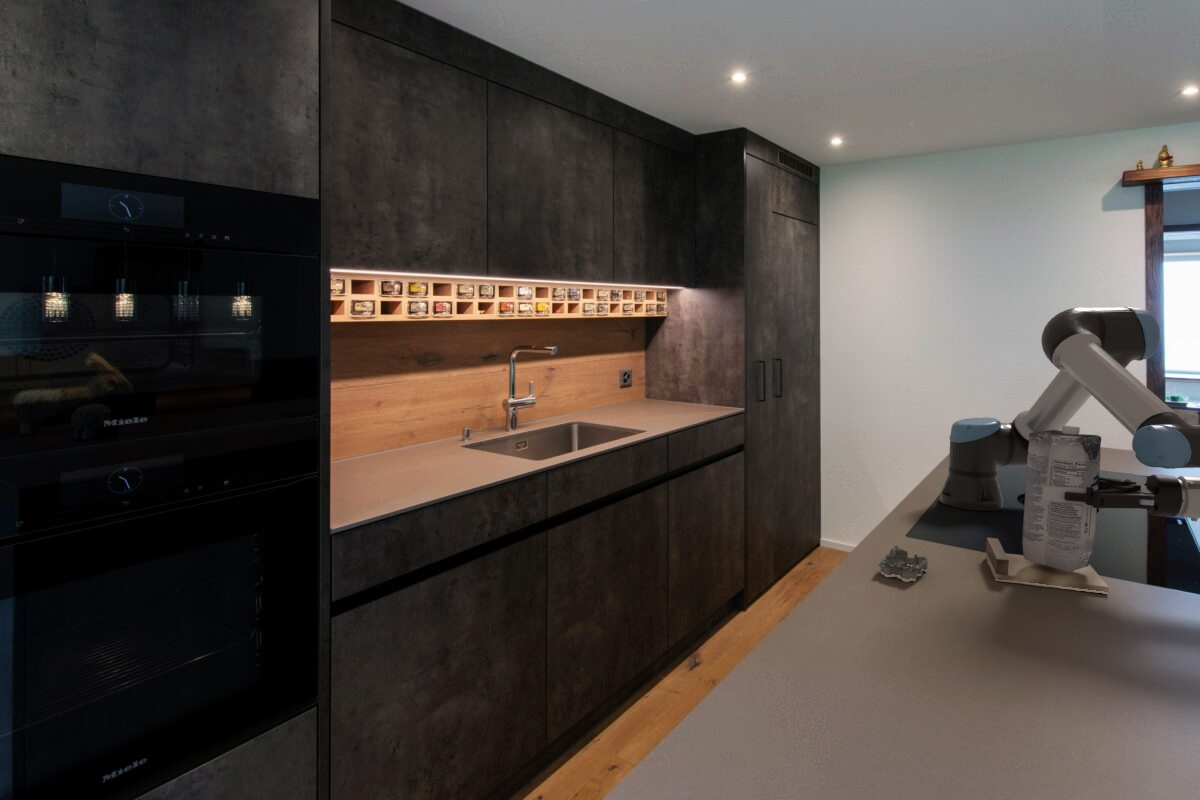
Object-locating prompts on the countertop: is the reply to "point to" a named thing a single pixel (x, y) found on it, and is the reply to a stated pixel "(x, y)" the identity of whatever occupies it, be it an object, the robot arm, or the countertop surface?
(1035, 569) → the oak board
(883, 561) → the egg carton
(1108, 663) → the countertop surface
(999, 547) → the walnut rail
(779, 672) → the countertop surface
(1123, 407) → the robot arm
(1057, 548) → the juice carton
